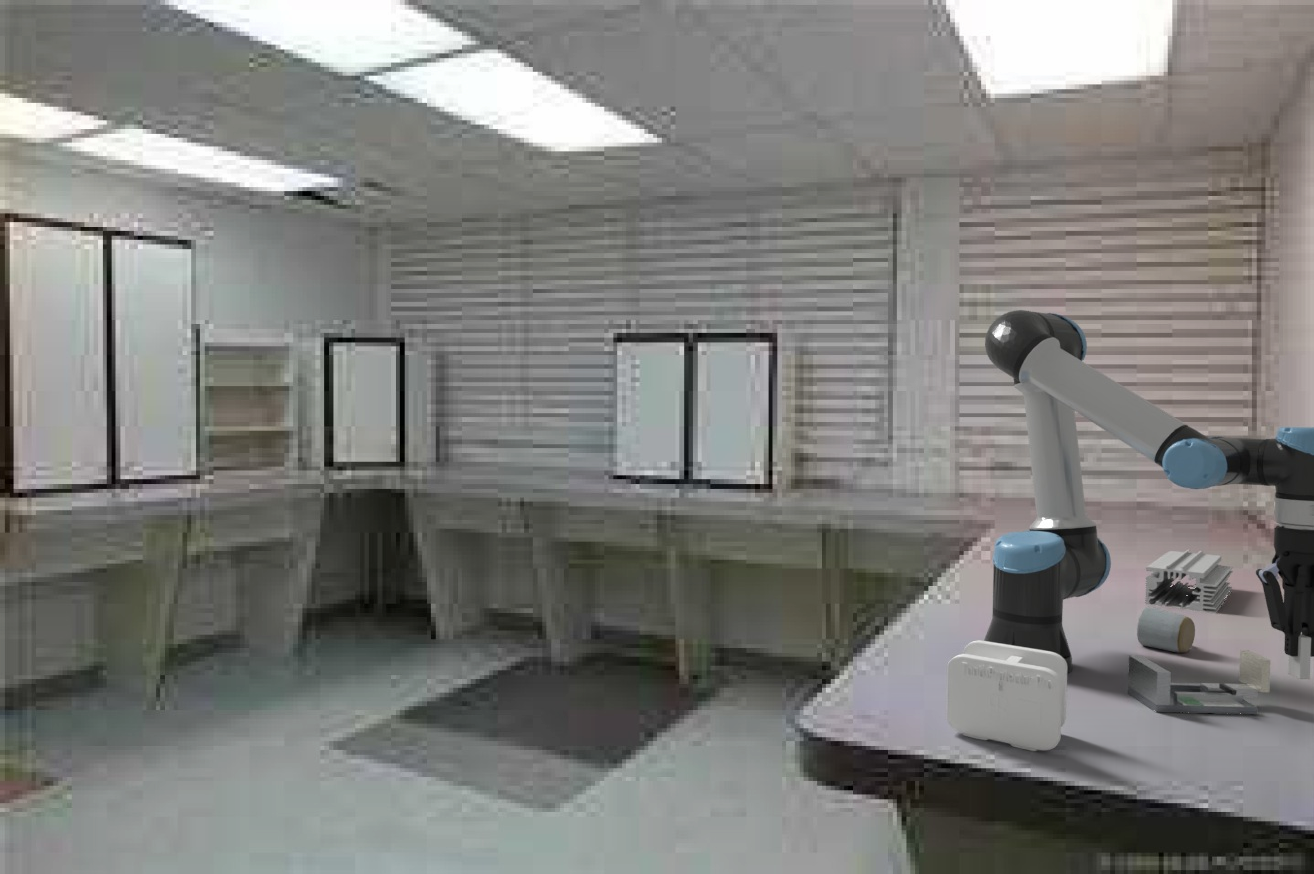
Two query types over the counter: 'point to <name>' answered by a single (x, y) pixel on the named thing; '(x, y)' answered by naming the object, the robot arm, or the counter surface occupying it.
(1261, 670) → the sliding gauge carriage
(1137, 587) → the counter surface
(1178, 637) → the grey tan cylinder
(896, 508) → the counter surface
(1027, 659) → the cable organizer
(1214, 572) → the aluminum extrusion profile
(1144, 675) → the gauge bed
